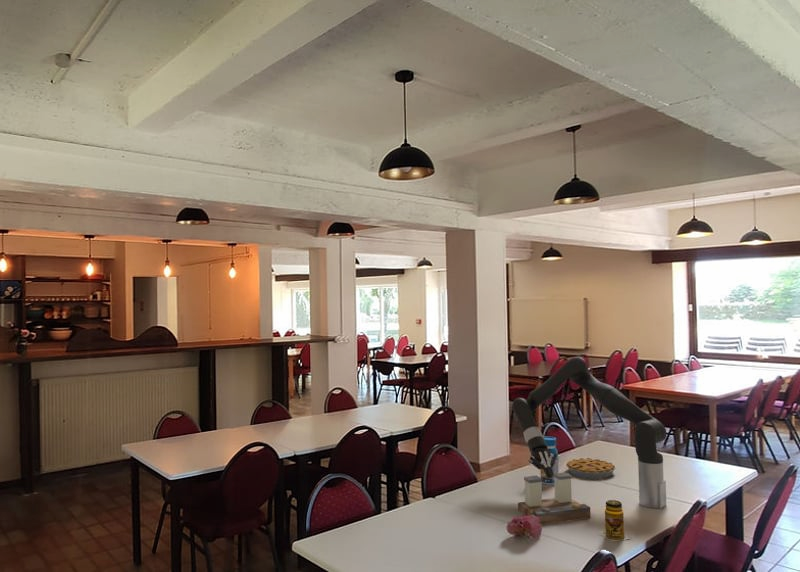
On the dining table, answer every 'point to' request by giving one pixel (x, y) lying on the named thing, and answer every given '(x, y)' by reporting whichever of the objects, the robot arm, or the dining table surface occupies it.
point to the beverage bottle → (551, 447)
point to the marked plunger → (563, 487)
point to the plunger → (533, 491)
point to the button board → (556, 511)
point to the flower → (525, 526)
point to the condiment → (614, 521)
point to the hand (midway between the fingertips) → (550, 477)
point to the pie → (590, 468)
